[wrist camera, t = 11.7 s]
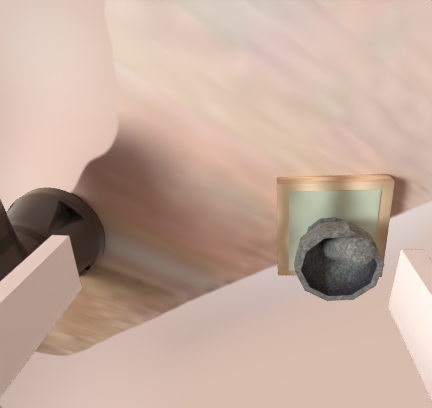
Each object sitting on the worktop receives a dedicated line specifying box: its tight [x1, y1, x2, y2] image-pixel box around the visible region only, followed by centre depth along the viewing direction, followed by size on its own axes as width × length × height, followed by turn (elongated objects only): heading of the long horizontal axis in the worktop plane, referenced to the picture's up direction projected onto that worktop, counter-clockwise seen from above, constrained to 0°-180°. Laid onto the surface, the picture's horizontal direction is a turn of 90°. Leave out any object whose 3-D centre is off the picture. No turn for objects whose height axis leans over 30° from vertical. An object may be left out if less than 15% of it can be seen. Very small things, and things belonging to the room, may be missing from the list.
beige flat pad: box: [277, 174, 395, 277], centre depth 47 cm, size 14×14×3 cm
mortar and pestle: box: [294, 217, 384, 301], centre depth 40 cm, size 11×9×12 cm
